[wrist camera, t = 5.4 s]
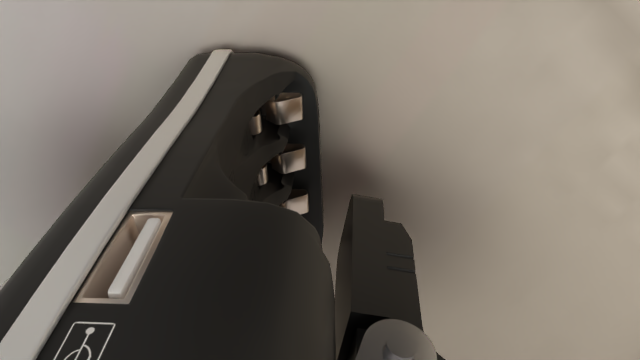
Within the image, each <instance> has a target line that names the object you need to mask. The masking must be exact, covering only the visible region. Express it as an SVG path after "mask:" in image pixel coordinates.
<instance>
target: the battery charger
mask: <svg viewBox="0 0 640 360" xmlns="http://www.w3.org/2000/svg"><path fill="white" fill-rule="evenodd" d="M322 236H323V195H322V176H321V146H320V124H319V109H318V99H317V93H316V88H315V85H314V82H313V80H312V78H311V76H310V75H309V74H308V73H307V72H306V71H305V70H304V69H303V68H302V67H301V66H299V65H298V64H296V63H294V62H291V61H289V60H286V59H284V58H281V57H276V56H270V55H265V54H261V53H233V51H232V50H231V49H218V50H214V51H213V52H212V53H204V54H197V55H196V56H194V57H193V58H191V59H190V60H189V61H188V63H187V65H186V66H185V67H184V69H183V70H182V72H181V73H180V75H179V76H178V77H177V79H176V80H175V82H174V83H173V84H172V86H171V87H170V88H169V89H168V91H167V92H166V93H165V95H164V96H163V97H162V99H161V100H160V101H159V103H158V104H157V105H156V106H155V108H154V109H153V110H152V111H151V113H150V114H149V115H148V116H147V118H146V119H145V120H144V121H143V122H142V123H141V124H140V125H139V127H138V128H137V129H136V130H135V131H134V132H133V133H132V134H131V135H130V136H129V137H128V138H127V139H126V141H125V142H124V143H123V144H122V145H121V146H120V147H119V148H118V150H117V151H116V152H115V153H114V154H113V155H112V156H111V157H110V159H109V160H108V161H107V162H106V163H105V164H104V166H103V167H102V168H101V169H100V170H99V171H98V172H97V174H96V175H95V176H94V177H93V178H92V179H91V180H90V182H89V183H88V184H87V185H86V186H85V187H84V189H83V190H82V191H81V192H80V193H79V194H78V196H77V197H76V198H75V199H74V200H73V201H72V202H71V204H70V205H69V206H68V207H67V208H66V209H65V211H64V212H63V213H62V214H61V216H60V217H59V218H58V219H57V220H56V222H55V223H54V224H53V225H52V227H51V228H50V229H49V230H48V231H47V233H46V234H45V235H44V236H43V238H42V239H41V240H40V241H39V242H38V244H37V245H36V246H35V247H34V249H33V250H32V251H31V252H30V253H29V255H28V256H27V257H26V258H25V260H24V261H23V262H22V264H21V265H20V266H19V267H18V269H17V270H16V271H15V272H14V274H13V275H12V276H11V278H10V279H9V280H8V281H7V283H6V284H5V285H4V287H3V288H2V289H1V290H0V360H336V337H335V298H334V289H333V281H332V274H331V268H330V263H329V261H328V260H327V258H326V256H325V255H324V253H323V251H322V245H321V244H322Z"/></svg>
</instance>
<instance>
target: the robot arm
mask: <svg viewBox="0 0 640 360" xmlns="http://www.w3.org/2000/svg"><path fill="white" fill-rule="evenodd" d="M413 257H414V256H413V247H412V240H411V238H410V237H409V235H408V233H407V232H406V230H405V229H404V227H403V226H402V224H401V223H395V222H389V221H384V208H383V200H382V199H378V198H372V197H366V196H360V195H354V194H352V196H351V199H350V203H349V207H348V212H347V216H346V220H345V224H344V229H343V233H342V237H341V241H340V246H339V252H338V259H337V270H336V288H335V337H336V360H445V359H444V358H443V357H441V356H440V355H439V354H438V353H437V352H436V350H435V347H434V345H433V343H432V342H431V340H430V339H429V338H428V336H427V335H426V334H425V333H424V332H423V327H422V320H421V312H420V304H419V296H418V288H417V280H416V274H415V264H414V260H413ZM10 278H11V277H10ZM10 278H9V279H10ZM9 279H8V280H9ZM8 280H6V281H5V282H4V283H3V284H2V285H1V286H0V290H1V289H2V288H3V287H4V285H5V284H6V283H7V281H8Z"/></svg>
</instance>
